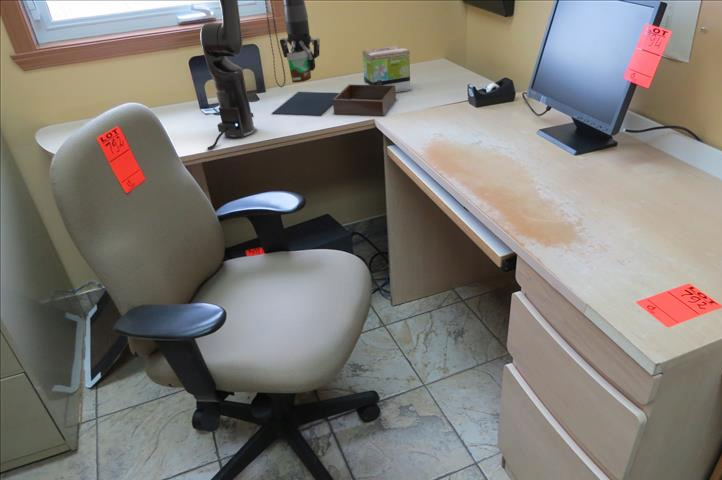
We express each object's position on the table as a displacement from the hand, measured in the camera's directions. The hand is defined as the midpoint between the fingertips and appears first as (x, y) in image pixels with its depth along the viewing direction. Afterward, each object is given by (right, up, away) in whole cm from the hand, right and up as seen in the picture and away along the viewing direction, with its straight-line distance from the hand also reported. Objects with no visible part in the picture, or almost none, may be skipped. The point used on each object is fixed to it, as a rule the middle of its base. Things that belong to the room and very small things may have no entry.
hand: (303, 69), depth 195 cm
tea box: (+29, -3, +16) cm, 33 cm away
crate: (+22, -13, +1) cm, 25 cm away
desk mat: (+1, -10, +7) cm, 12 cm away
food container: (0, -3, +2) cm, 3 cm away
